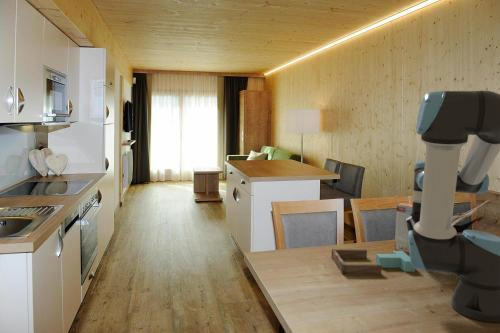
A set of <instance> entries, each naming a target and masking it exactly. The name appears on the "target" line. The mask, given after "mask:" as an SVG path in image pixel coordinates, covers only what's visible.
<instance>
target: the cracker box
mask: <svg viewBox="0 0 500 333" xmlns="http://www.w3.org/2000/svg"><path fill="white" fill-rule="evenodd" d="M411 214H412V203H408V202H407V203H406V202H400V203H397V204H396V218H395V232H394V234H395V236H394V251H403V252H404V253H406V254H407V255H408V256H410V253H409V242H408V227H407V224H406V222H405V219H406V218H407V219H408V218H409V217H411ZM412 222H413V223H412V225H413V230H414V225H415V223H414V221H413V220H412Z"/></svg>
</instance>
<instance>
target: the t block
mask: <svg viewBox="0 0 500 333" xmlns="http://www.w3.org/2000/svg"><path fill="white" fill-rule="evenodd" d="M375 264H381V265H382V268H385V269H386V268H388V269H390V268H392V269H394V268H396V269H401V270H402V271H403V272H409V273H411V272H413V273H414V272H416V269H415V268H413V267H412V265H411V262H410V255H409V254H406V253H404V252H403V251H395V250H392V253H376V256H375Z"/></svg>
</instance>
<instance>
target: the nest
mask: <svg viewBox="0 0 500 333" xmlns="http://www.w3.org/2000/svg"><path fill="white" fill-rule="evenodd" d="M367 253H368V250H367V248H364V249H361V248H360V249H359V248H356V249H355V248H353V249H352V248H351V249H350V248H349V249H348V248H347V249H346V248H343V249H342V248H341V249H338V248H336V249H335V248H331V259H332V261H333V262H334V264H335V265H336V267H337V268H338V269H339V271H340V273H341V274H342V275H343V276H345V275H355V276H356V275H357V276H358V275H363V276H364V275H367V276H368V275H371V276H373V275H379V276H380V275H382V265H381V264H376V263H374V264H373V263H372V264H371V263H363V264H362V263H346V262H345V261H344V260H343V259H352V260H353V259H357V260H359V259H364V260H365V259H367V258H368V254H367Z"/></svg>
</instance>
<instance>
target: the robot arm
mask: <svg viewBox="0 0 500 333" xmlns="http://www.w3.org/2000/svg"><path fill="white" fill-rule="evenodd" d="M415 126H416V127H415V130H416V131H415V132H416V134H418V135H421V137H420V140H421V141H422V142H423V144H424V145H425V146H426V147H425V158H424V160H417V161H416V162H415V164H414V169H413V171H414V173H413V176H414V177H413V187H412V188H413V189H412V203H411V204H412V214H411V217H409V218H408V219H407V218H406V219H405V222H406V224H407V227H408V242H409V253H410V255H409V257H410V262H411V265H412V267H413V268H415V270H419V271H420V270H421V271H425V272H435V273H443V274H450V275H452V274H453V275H459V281H458V283H457V284H456V287H455V289H454V292H453V293H452V294H451V299H450V300H451V302H450V306H451V307H452V309H454V311H456V312H457V313H458V314H461V315H463V316H465V317H467V318H470V319H473V320H477V321H480V322H485V323H494V324H495V323H500V236H498V235H495V234H493V233H489V232H487V231H481V230H476V229H464V230H463V232H462V233H461V234H457V233H458V232H457V230H456V228H455V227H454V226H453V224H452V223H453V216H454V206H455V199H456V193H462V194H463V193H464V194H465V193H466V194H471V195H475V194H485V193H487V192H488V190H489V187H490V177H489V174H488V173H489V170H490V168H491V167H492V165H493V164H494V162H495V160H496V159H497V156H498V155H499V152H500V93H498V92H495V91H490V90H438V91H429V92H427V93H426V94H424V96H423V98H422V100H421V102H420V105H419V109H418V113H417V118H416V125H415ZM469 136H474V137H473V139H472V141H471V144H470V146H469V149H468V151H467V152H466V156H465V158H464V160H463V163H462V165H461V167H460V170H459V165H460V164H459V163H460V154H461V148H462V147H463V146H465V145H466V144H467V143H468V142H469ZM412 220H413V221H414V223H415V225H414V230H413V225H412V223H413V222H412Z"/></svg>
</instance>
